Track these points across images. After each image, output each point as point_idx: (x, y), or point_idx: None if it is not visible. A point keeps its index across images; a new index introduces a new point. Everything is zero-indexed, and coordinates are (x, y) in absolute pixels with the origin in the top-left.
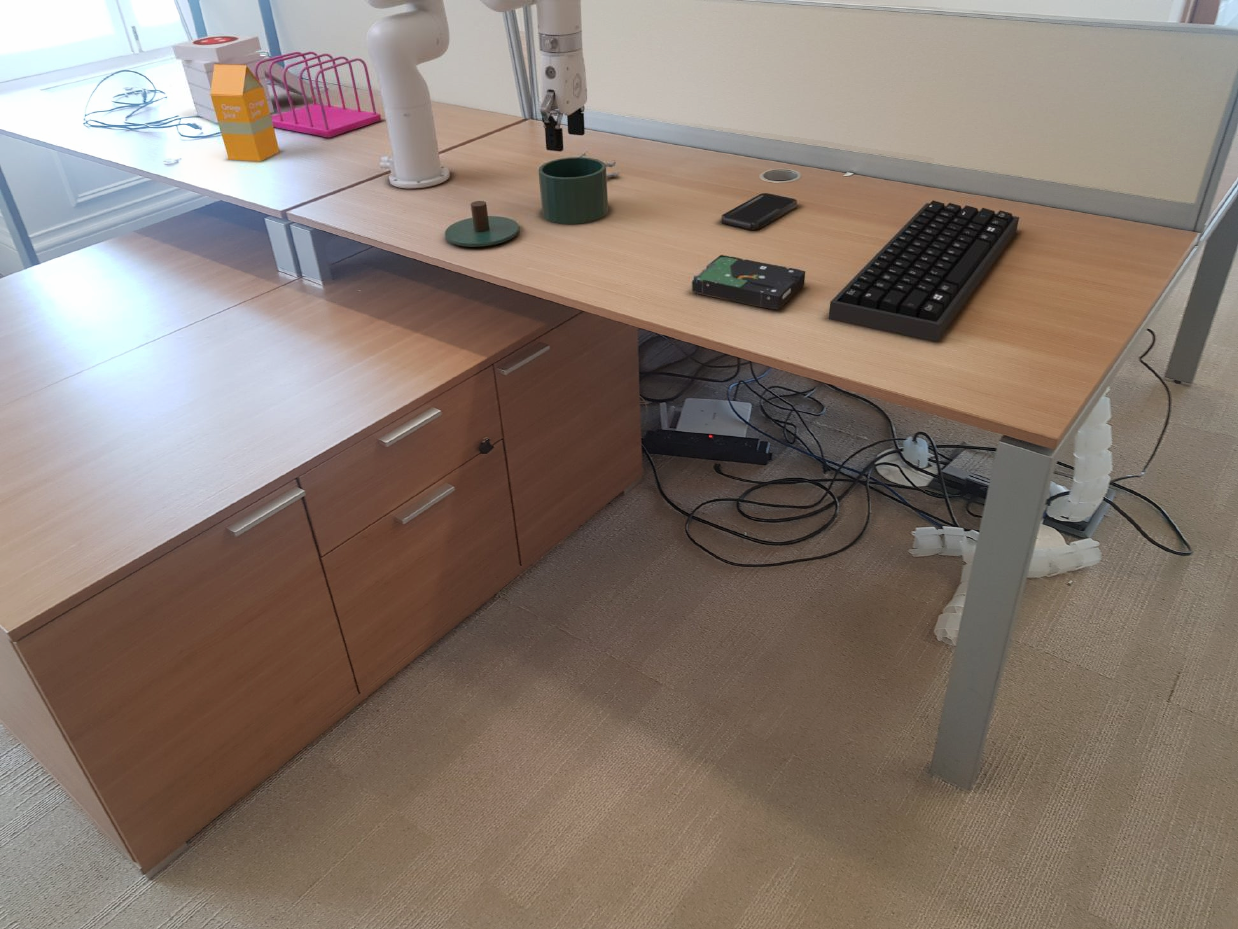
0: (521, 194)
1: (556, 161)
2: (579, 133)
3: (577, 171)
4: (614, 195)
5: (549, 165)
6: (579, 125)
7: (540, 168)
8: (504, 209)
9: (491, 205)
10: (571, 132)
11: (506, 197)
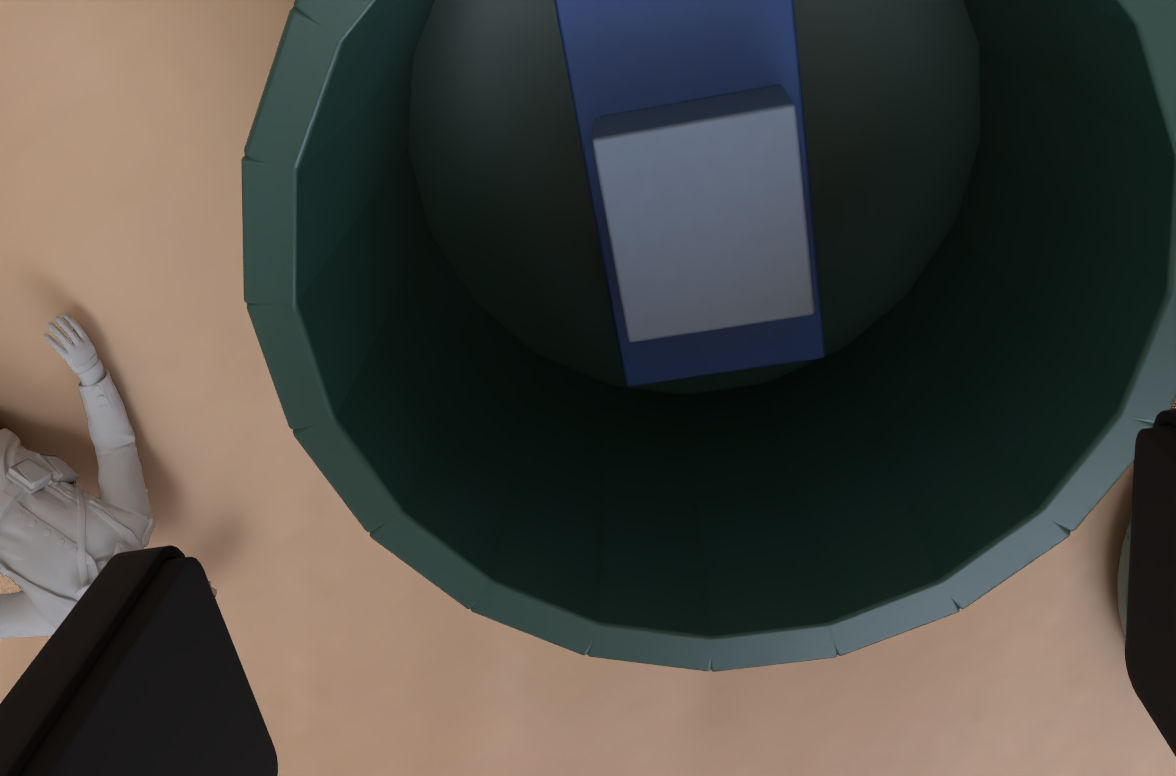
0: (517, 713)
1: (556, 601)
2: (206, 613)
3: (393, 367)
4: (124, 30)
5: (668, 614)
6: (143, 713)
7: (893, 621)
8: (837, 663)
9: (796, 767)
10: (253, 741)
11: (616, 763)
